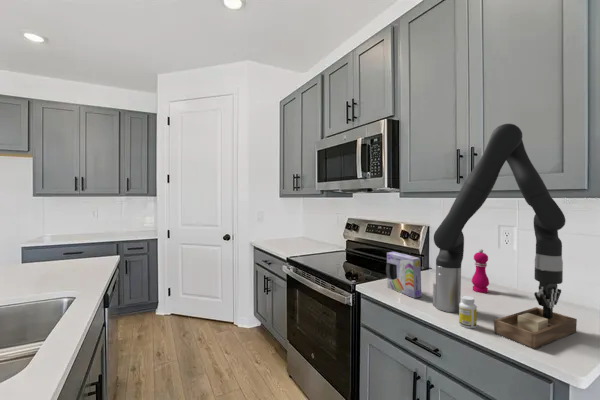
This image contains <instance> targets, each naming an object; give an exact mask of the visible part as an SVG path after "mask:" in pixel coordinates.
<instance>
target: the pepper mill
mask: <svg viewBox="0 0 600 400" xmlns="http://www.w3.org/2000/svg"><path fill="white" fill-rule="evenodd" d="M473 260H474V261H475V262H474V266H475V272H474V274H473V275H472V278H471V283H472V291H473V292H476V293H481V294H488V293H489V291H488V290H489V289H488V286H489V285H490V280H489V277H488V276H487V271H486V268H487V266H488V265H487V264H488V261H489V256H488V255H487V254H486V253H485V252H484V249H481V248H480V249H479V250H478V252H476V253H474V255H473Z"/></svg>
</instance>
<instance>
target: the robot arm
mask: <svg viewBox="0 0 600 400" xmlns="http://www.w3.org/2000/svg"><path fill="white" fill-rule="evenodd" d="M506 162H507V164H508V165H509V168H510V170H511V172H512V174H513V177H514V180H515V182H516V184H517V186H518V189H519V190H520V191H519V192H520V193H521V194H522V197H523V199H524V200H525V202H526V203H527V205H529V206H530V207H531V208H532V210H533V211H534V214H535V215H534V217H533V228H534V229H533V230H534V237H535V256H534V257H535V258H534V280H535V281H537V282H538V283H539V284H538V292H537V291H535V292H534V297H535V299H536V302H537V303H538V305H539V306H541V307H542V309H543V317H544V318H547V319H551V318H553V312H554V309H553V308H555V306H557V304H558V301H559V299H560V296H561V293H562V289H561V288H558V285H560V284H561V285H562V283H563V281H564V280H563V278H564V277H563V276H564V275H563V273H564V272H563V269H564V267H563V266H564V265H563V264H564V262H563V242H562V240H561V239H560V237H559V230H560V231H561V229H563V228H564V226H565V225H566V218H565V217H566V216H565V214H564V212H563V211H562V208H561V207H560V206H559V205H558V204H557V202H556V201H555V200H554V199H553V197H552V196H551V194H550V192H549V190H548V188H547V185H546V184H545V182H544V180H543V179H542V177H541V175H540V173H539V172H538V170H537V168H535V166H534V164H533V163H532V161H531V159H530V158H529V156H528V153H527V151H526V148H525V144H524V142H523V132H522V130H521V128H520V127H519V126H517V125H516V124H514V123H504V124H501V125H498V126H497V127H496V128H494V130H493V131H492V132H491V135H490V138H489V139H488V142H487V144H486V147H485V150H484V151H483V153H482V156H481V157H480V158H479V160H478V162H477V164H476V165H475V166H474V168H473V169H472V170H471V172H470V174H469V175H468V177H467V178H466V179H465V182H464V183H463V185H462V186H461V188H460V190H459V192H458V195H457V196H456V197H455V200H454V201H453V203H452V205H451V207H450V209H449V211H448V213H447V214H446V216H445V218H444V219H443V220H442V222H441V223H440V225H439V226H438V227H437V228H436V230H435V232H434V234H433V243H434V245H435V246H436V248H438V249H439V251H438V255H437V256H436V259H435V282H433V284H432V285H433V287H432V289H433V290H432V294H433V295H432V296H433V297H432V306H434V307H435V308H436V309H437V310H440V311H443V312H447V313H459V304H460V303H461V302H462V300H461V299H462V294H461V293H462V291H461V290H462V287H461V286H462V262H463V259H464V250H465V236H464V232H463V230H464V227H465V226H466V224H467V223H468V222H469V220H471V218H472V217H473V216H474V215H475V214H476V213H477V212H478V210H480V208H481V207H482V206H483V205H484V203H485V202H486V200H487V199H488V198H489V196H490V194H491V192H492V190H493V188H494V186H495V184H496V182H497V180H498V178H499V175H500V172H501V170H502V169H503V166H504V164H505V163H506Z"/></svg>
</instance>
